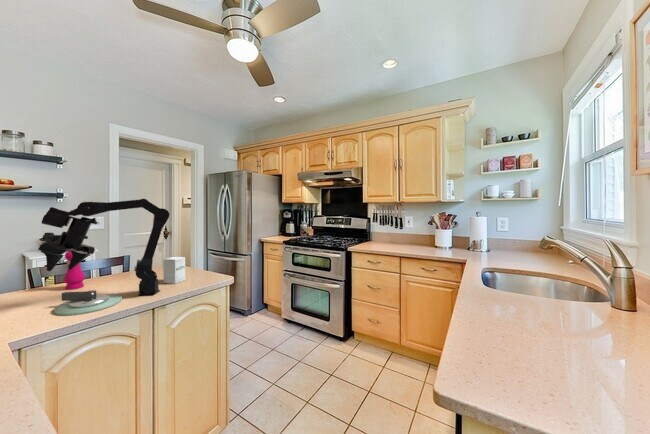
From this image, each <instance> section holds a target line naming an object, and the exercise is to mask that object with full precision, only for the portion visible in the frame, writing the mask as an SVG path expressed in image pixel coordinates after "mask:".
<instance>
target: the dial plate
mask: <svg viewBox="0 0 650 434" xmlns="http://www.w3.org/2000/svg"><path fill="white" fill-rule="evenodd" d="M106 294H107V295H109V300H108V301H106V302H103V303H101V304H97V305H93V306H88V307H80V308H72V307H69V302H70V301H63V302H62V303H60V304H58V305H57V306H55V307H54V308H53V314H55V315H57V316H63V317H64V316H78V315H84V314H85V315H86V314H91V313H95V312H99V311H102V310H105V309H109V308H112V307H114V306H116V305H117V304H120V303H121V302H122V298H123V297H122V295H120V294H116V293H106Z"/></svg>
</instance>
